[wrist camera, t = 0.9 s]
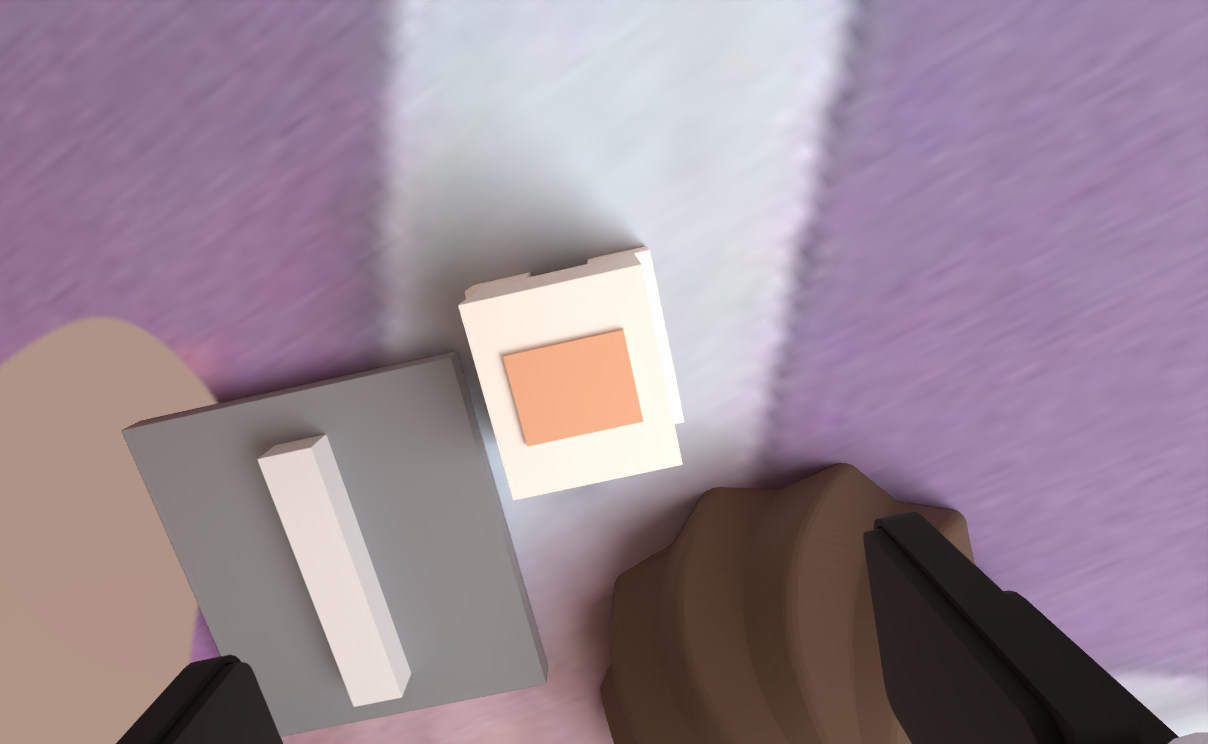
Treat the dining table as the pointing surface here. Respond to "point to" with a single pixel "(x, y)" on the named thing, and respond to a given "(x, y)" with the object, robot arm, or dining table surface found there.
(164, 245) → the dining table surface
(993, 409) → the dining table surface
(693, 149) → the dining table surface
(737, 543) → the decorative dome
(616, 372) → the block
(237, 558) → the rail board
